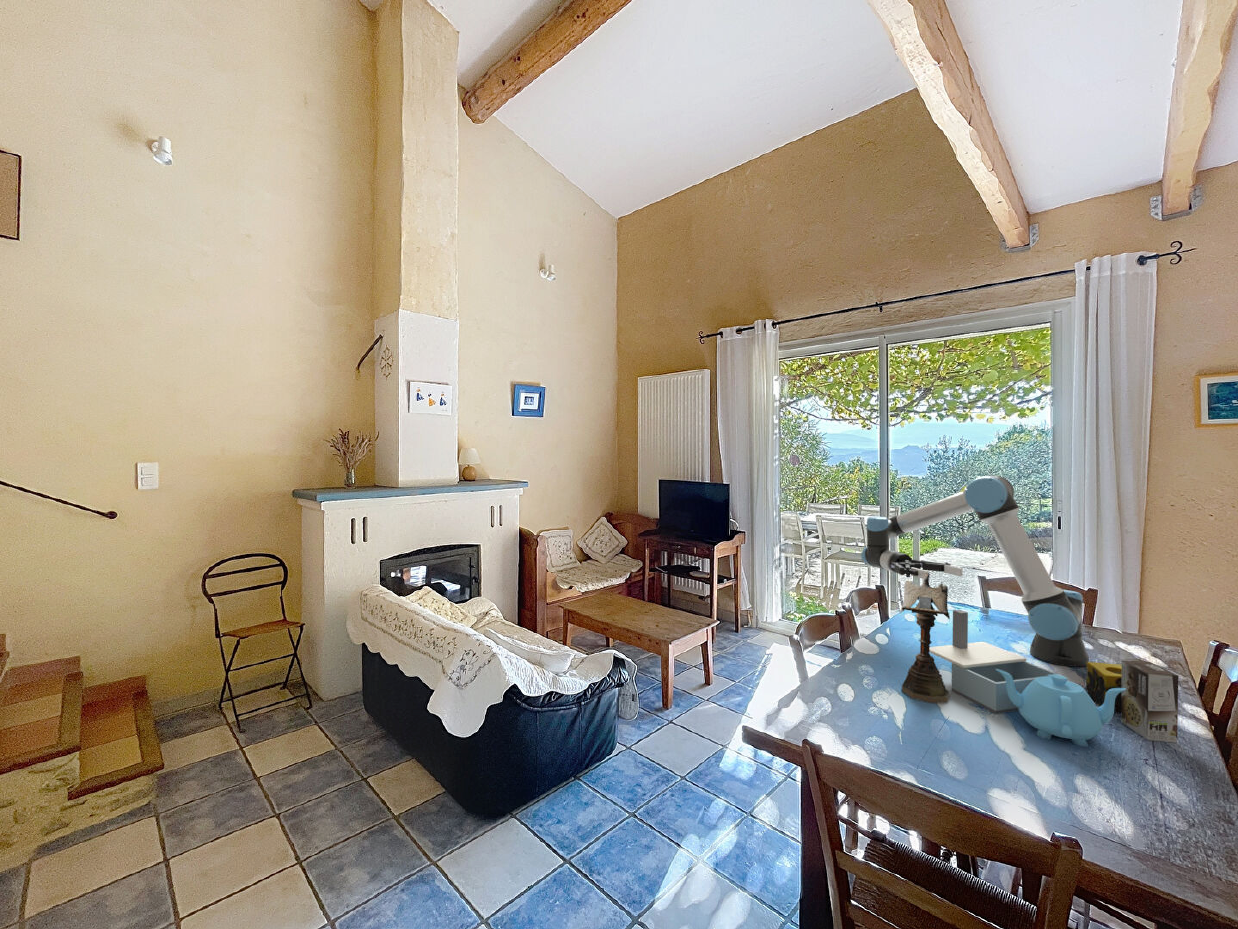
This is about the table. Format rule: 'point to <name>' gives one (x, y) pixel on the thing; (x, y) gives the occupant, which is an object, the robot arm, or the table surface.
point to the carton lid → (971, 648)
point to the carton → (994, 683)
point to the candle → (1104, 682)
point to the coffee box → (1150, 700)
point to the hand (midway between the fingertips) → (944, 573)
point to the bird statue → (925, 641)
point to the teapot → (1061, 707)
